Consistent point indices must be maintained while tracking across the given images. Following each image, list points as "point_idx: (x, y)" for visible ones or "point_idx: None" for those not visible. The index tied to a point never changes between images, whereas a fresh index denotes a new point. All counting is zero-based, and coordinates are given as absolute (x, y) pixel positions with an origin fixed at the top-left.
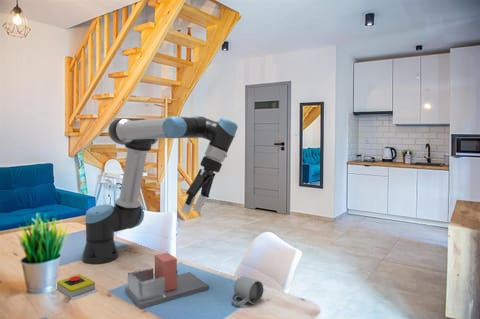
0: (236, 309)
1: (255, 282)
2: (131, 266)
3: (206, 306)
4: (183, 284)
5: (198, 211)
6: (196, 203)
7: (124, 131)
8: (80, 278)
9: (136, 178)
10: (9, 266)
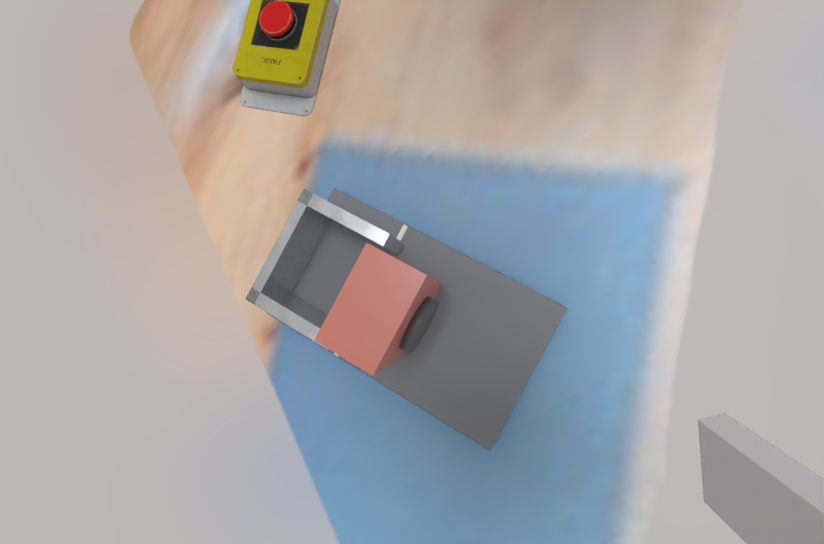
0: None
1: None
2: (523, 41)
3: (372, 498)
4: (448, 355)
5: (714, 503)
6: (817, 522)
7: None
8: (285, 31)
9: None
10: None
